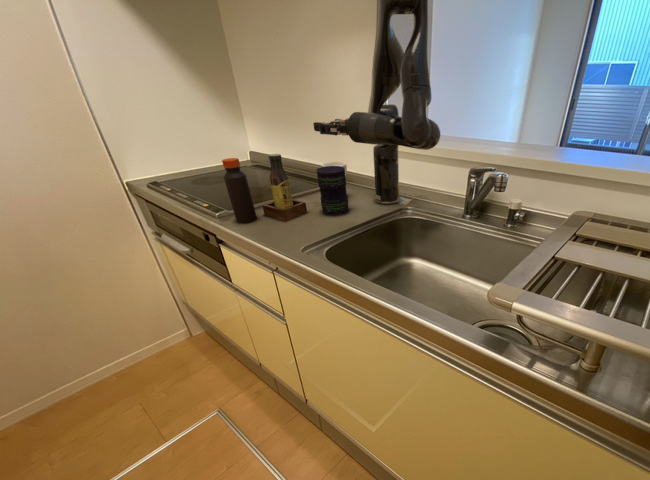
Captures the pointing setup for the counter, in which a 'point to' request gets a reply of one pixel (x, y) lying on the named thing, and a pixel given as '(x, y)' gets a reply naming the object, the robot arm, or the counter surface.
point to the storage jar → (333, 190)
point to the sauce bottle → (279, 183)
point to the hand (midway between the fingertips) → (325, 124)
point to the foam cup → (335, 165)
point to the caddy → (285, 210)
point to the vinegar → (238, 191)
